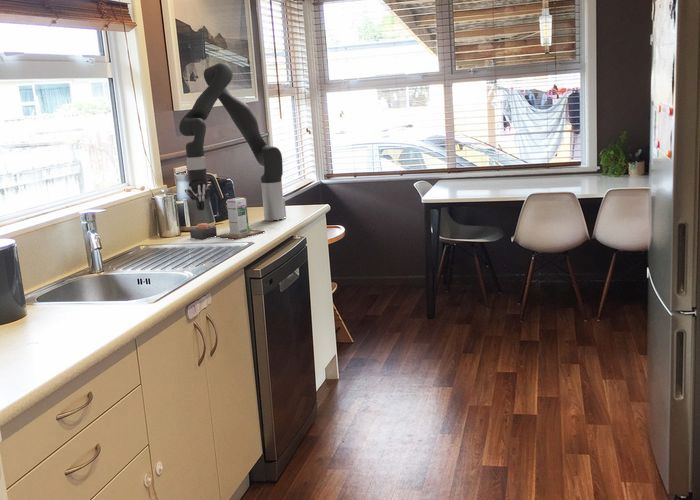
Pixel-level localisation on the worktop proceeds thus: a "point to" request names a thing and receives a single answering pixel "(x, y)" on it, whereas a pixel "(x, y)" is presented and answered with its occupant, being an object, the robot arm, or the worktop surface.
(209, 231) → the button housing
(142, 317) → the worktop surface
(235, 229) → the syrup box
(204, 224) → the button
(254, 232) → the board
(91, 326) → the worktop surface
